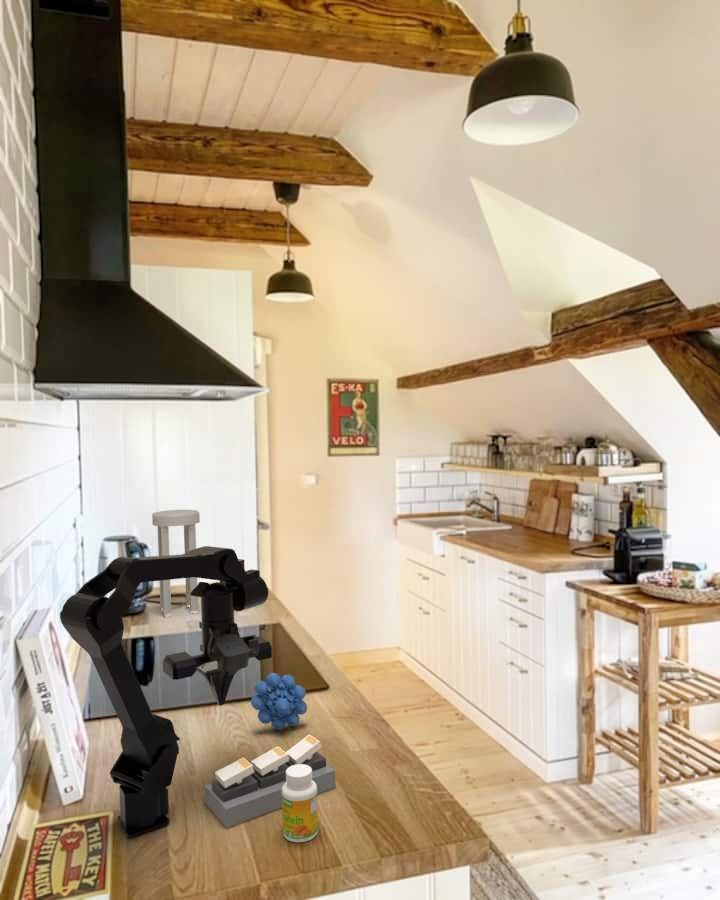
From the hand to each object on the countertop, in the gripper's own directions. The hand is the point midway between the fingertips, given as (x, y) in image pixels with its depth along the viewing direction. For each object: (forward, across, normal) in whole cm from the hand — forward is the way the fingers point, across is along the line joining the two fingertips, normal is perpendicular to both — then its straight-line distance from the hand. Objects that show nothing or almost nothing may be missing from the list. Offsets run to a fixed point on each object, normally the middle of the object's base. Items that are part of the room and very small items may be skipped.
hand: (220, 704), depth 121 cm
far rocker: (+8, +11, -11) cm, 18 cm away
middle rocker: (+8, +4, -11) cm, 14 cm away
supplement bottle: (+13, +3, -24) cm, 27 cm away
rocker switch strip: (+13, +4, -11) cm, 17 cm away
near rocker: (+8, -2, -11) cm, 14 cm away
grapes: (+13, +17, +10) cm, 24 cm away
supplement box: (+13, +53, +115) cm, 127 cm away
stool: (+13, +34, +118) cm, 124 cm away
